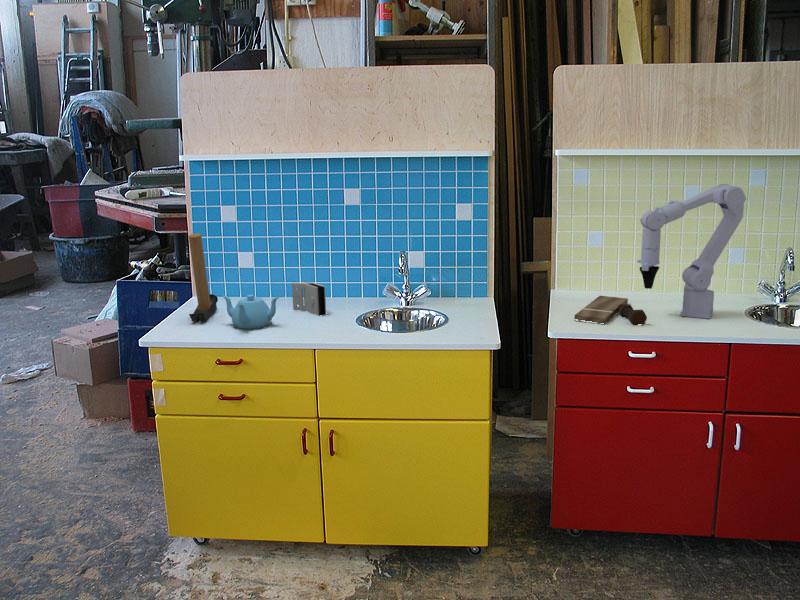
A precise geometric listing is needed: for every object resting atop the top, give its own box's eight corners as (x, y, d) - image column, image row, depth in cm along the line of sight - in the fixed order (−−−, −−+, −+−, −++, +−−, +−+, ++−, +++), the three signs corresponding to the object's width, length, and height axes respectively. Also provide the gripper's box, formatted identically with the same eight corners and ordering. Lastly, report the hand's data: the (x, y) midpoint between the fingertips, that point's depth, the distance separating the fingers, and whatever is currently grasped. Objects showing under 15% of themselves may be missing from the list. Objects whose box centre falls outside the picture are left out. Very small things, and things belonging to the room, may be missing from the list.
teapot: (264, 317, 260) (262, 288, 257) (283, 326, 247) (281, 296, 245) (223, 324, 252) (221, 294, 249) (241, 334, 240) (238, 302, 237)
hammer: (206, 329, 253) (194, 246, 241) (191, 329, 253) (179, 246, 241) (219, 304, 272) (209, 225, 259) (205, 304, 272) (194, 225, 259)
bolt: (622, 319, 256) (640, 329, 241) (610, 312, 255) (627, 322, 240) (631, 304, 255) (650, 314, 240) (619, 297, 254) (637, 306, 239)
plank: (627, 303, 267) (627, 298, 267) (604, 324, 242) (605, 318, 242) (599, 300, 272) (599, 295, 272) (574, 321, 247) (574, 314, 247)
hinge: (292, 310, 267) (291, 283, 265) (303, 307, 271) (302, 280, 269) (320, 316, 259) (319, 287, 256) (331, 313, 263) (330, 285, 261)
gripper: (642, 243, 255) (640, 282, 258) (633, 250, 243) (631, 291, 246) (664, 244, 251) (662, 284, 255) (655, 252, 239) (653, 293, 242)
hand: (648, 288), depth 250 cm, fingers closed
